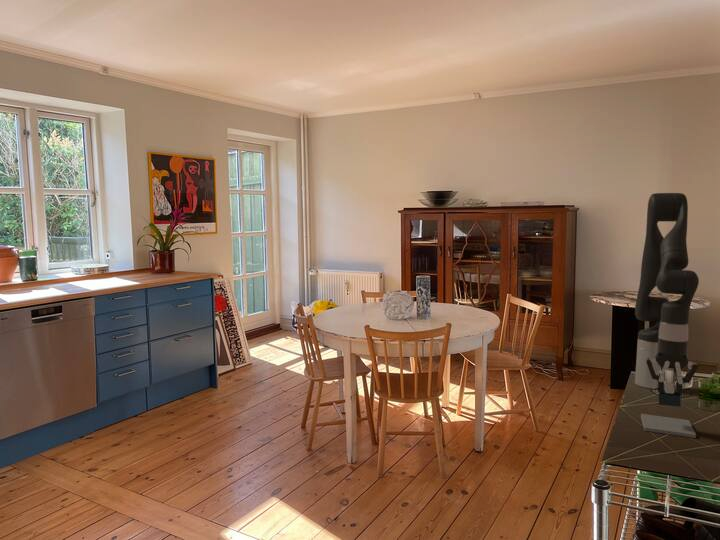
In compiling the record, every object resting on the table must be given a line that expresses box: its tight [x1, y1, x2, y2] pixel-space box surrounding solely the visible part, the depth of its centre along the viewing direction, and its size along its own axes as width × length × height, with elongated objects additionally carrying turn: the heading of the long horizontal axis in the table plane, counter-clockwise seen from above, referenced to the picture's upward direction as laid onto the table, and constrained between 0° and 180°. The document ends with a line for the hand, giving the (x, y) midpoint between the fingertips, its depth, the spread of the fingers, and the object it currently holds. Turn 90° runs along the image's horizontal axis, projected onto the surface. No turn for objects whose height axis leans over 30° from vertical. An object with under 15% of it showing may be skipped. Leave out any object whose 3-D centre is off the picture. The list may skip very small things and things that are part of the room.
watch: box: [658, 368, 682, 407], centre depth 160 cm, size 6×8×11 cm
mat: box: [640, 413, 697, 439], centre depth 162 cm, size 12×13×1 cm
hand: (669, 394), depth 161 cm, fingers closed on watch, 3 cm apart
